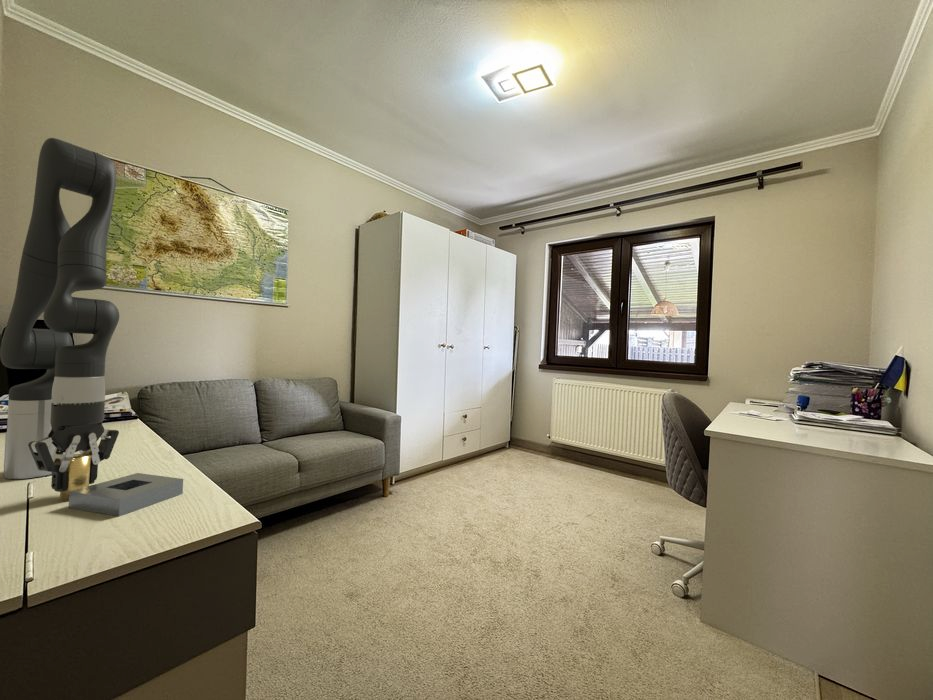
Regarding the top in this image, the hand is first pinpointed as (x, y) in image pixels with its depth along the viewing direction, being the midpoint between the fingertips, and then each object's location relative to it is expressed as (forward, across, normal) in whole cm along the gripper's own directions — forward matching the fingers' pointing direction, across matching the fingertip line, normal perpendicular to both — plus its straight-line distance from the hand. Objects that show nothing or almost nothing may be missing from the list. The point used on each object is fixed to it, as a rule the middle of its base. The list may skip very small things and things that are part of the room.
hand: (74, 486), depth 77 cm
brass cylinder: (+2, 0, 0) cm, 2 cm away
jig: (+2, -2, +11) cm, 11 cm away
